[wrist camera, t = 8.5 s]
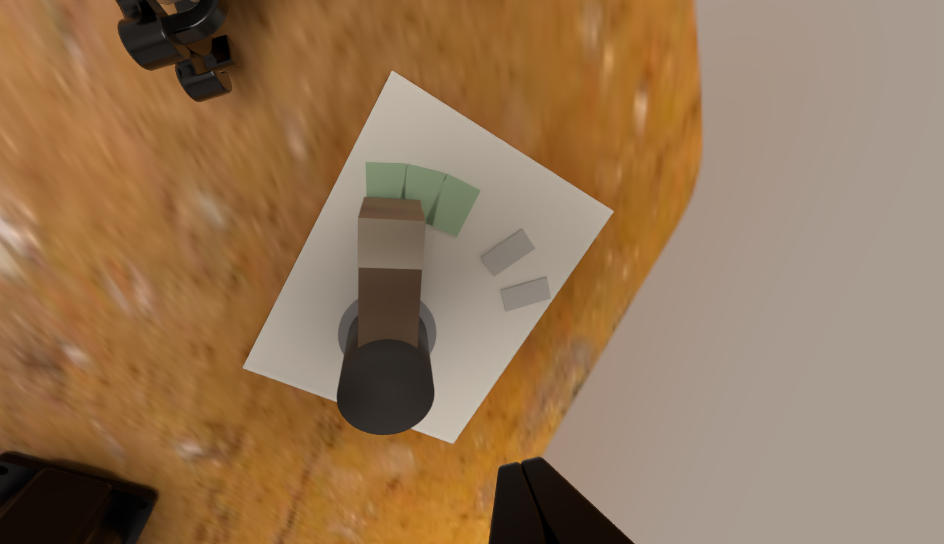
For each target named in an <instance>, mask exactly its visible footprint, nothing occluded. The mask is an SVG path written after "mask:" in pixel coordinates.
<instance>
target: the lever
mask: <svg viewBox="0 0 944 544" xmlns="http://www.w3.org/2000/svg"><path fill="white" fill-rule="evenodd" d="M425 225H426V220H425V216H424V212H423V207H422V203H421V200H409V199H392V198H375V197H364V198H363V201H362V205H361V208H360V212H359V216H358V315H357V316H356V318H355V319H354V320H353V322H352V323H351V325H350V328H349V331H348V336H347V341H346V346H345V352H344V357H343V362H342V368H341V373H340V378H339V384H338V389H337V404H338V408H339V410H340V412H341V414H342V416H343V417H344V418H345V419H346V421H347V422H349V423H350V424H351V425H352V426H354V427H355V428H357V429H359V430H361V431H364V432H367V433H371V434H377V435H390V434H396V433H400V432H403V431H406V430H408V429H410V428H412V427H414V426H415V425H417V424H418V423H419V422H421V421H422V420H423V419H424V418H425V416H426V415H427V414H428V412H429V411H430V409H431V407H432V405H433V401H434V396H435V390H434V383H433V375H432V367H431V360H430V352H429V344H428V337H427V330H426V327H425V324H424V322H423V320H422V319H421V318H420V316H419V312H420V296H421V279H422V269H423V258H424V242H425Z"/></svg>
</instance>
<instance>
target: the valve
mask: <svg viewBox="0 0 944 544" xmlns="http://www.w3.org/2000/svg"><path fill="white" fill-rule="evenodd" d="M116 2H117V4H118V5H119V7H120V9H121V11H122V13H123V16H124V19H122V20H120V21H119V22H118V33H119V36H120V39H121V41H122V43H123V45H124V47H125V49H126V50H127V52H128V53H129V54H130V56H131V57H132V58H133V59H134V60H135V61H136V63H138V64H139V65H140V66H141V67H143V68H144V69H146V70H150V71H153V70H156V69H159V68H163V67H166V66H169V65H173V64H175V71H176V75H177V78H178V80H179V82H180V84H181V86H182V87H183V89H184V90H185V92H186V93H187V94H188V95H189V96H190V97H191V98H192V99H193V100H194V101H196V102H202V101H206V100H209V99H212V98H215V97H218V96H222V95H225V94H228V93H230V92H231V91H232V85H231V81H230V78H229V76H228V73H227V72H225V71H224V70H227V69H230V68H233V67H237V66H238V65H239V57H238V54H237V51H236V49H235V47H234V45H233V43H232V41H231V39H230V38H229V36H228V35H223V36H220V37H216V38H213V37H212V36H211V35H212V34H214V33H215V32H216V31H217V30H218V29H219V28H220V27H221V26H222V24H223V23H224V22H225V19H226V17H227V15H228V12H229V8H230V0H116ZM159 3H160V4H165V5H169V4H172V3H174V4H175V7H176V10H177V13H175V14H172V15H168V14H167V13H166V12H165V10H164V9H163V8H162V7H161V6H160V4H159ZM221 71H224V72H221Z"/></svg>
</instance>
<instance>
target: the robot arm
mask: <svg viewBox="0 0 944 544" xmlns="http://www.w3.org/2000/svg"><path fill="white" fill-rule="evenodd" d="M157 499H158V497H157V494H155V493H154V492H153V491H150V490H147V489H143V488H139V487H135V486H131V485H127V484H123V483H119V482H116V481H112V480H108V479H104V478H100V477H96V476H92V475H88V474H85V473H81V472H77V471H73V470H69V469H65V468H61V467H57V466H53V465H50V464H46V463H42V462H38V461H34V460H30V459H26V458H22V457H19V456H15V455H10V454H3V455H0V544H136V543H137V541H138V539H139V537H140V535H141V533H142V531H143V529H144V527H145V525H146V523H147V521H148V519H149V517H150V514H151V512H152V510H153V508H154V506H155V504H156V502H157ZM144 501H145V502H144ZM489 544H634V543H633V542H632V541H631V540H630V539H629V538H628V537H627V536H626V535H625V534H624V533H623V532H622V531H621V530H619V529H618V528H617V527H616V526H615V525H614V524H613V523H612V522H611V521H610V520H609V519H608V518H607V517H605V516H604V515H603V514H602V513H601V512H600V511H599V510H598V509H597V508H596V507H595V506H594V505H593V504H592V503H590V502H589V501H588V500H587V499H586V498H585V497H584V496H583V495H582V494H581V493H580V492H579V491H578V490H577V489H575V488H574V487H573V486H572V485H571V484H570V483H569V482H568V481H567V480H566V479H565V478H564V477H563V476H562V475H560V474H559V473H558V472H557V471H556V470H555V469H554V468H553V467H552V466H551V465H550V464H549V463H547V462H546V461H545V460H544V459H543V458H542V457H535V458H531V459H526V460H523V461H522V462H521V464H520V463H518V462H514V463H510V464H506V465H502V466H500V467H499V469H498V476H497V483H496V491H495V498H494V506H493V514H492V521H491V529H490V536H489Z"/></svg>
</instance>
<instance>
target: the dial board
mask: <svg viewBox="0 0 944 544" xmlns="http://www.w3.org/2000/svg"><path fill="white" fill-rule="evenodd" d="M364 197H375V198H392V199H409V200H421V203H422V207H423V212H424V216H425V220H426V225H425V242H424V258H423V269H422V279H421V296H420V312H419V316H420V318H421V319H422V320H423V322H424V324H425V327H426V330H427V337H428V344H429V352H430V360H431V367H432V375H433V383H434V390H435V396H434V401H433V405H432V407H431V409H430V411H429V412H428V414H427V415H426V416H425V418H424V419H423V420H422V421H421V422H419V423H418V424H417V425H415V426H414V427H412V428H410V429H413V430H416V431H419V432H421V433H424V434H427V435H430V436H432V437H435V438H438V439H441V440H444V441H446V442H449V443H452V444H453V443H454V442H455V440H456V439H457V437H458V436H459V435H460V433H461V432H462V430H463V429H464V427H465V426H466V424H467V423H468V422H469V420H470V419H471V417H472V416H473V414H474V413H475V411H476V410H477V409H478V407H479V406H480V404H481V403H482V401H483V400H484V398H485V397H486V396H487V394H488V393H489V391H490V390H491V388H492V387H493V385H494V384H495V383H496V381H497V380H498V378H499V377H500V375H501V374H502V372H503V371H504V370H505V368H506V367H507V365H508V364H509V362H510V361H511V359H512V358H513V357H514V355H515V354H516V352H517V351H518V349H519V348H520V346H521V345H522V344H523V342H524V341H525V339H526V338H527V336H528V335H529V333H530V332H531V331H532V329H533V328H534V326H535V325H536V323H537V322H538V320H539V319H540V318H541V316H542V315H543V313H544V312H545V310H546V309H547V307H548V306H549V305H550V303H551V302H552V300H553V299H554V297H555V296H556V294H557V293H558V292H559V290H560V289H561V287H562V286H563V284H564V283H565V281H566V280H567V279H568V277H569V276H570V274H571V273H572V271H573V270H574V268H575V267H576V266H577V264H578V263H579V261H580V260H581V258H582V257H583V255H584V254H585V253H586V251H587V250H588V248H589V247H590V245H591V244H592V242H593V241H594V240H595V238H596V237H597V235H598V234H599V232H600V231H601V229H602V228H603V227H604V225H605V224H606V222H607V221H608V219H609V218H610V216H611V215H612V214H613V212H614V211H613V210H611V209H610V208H608V207H606V206H605V205H603V204H602V203H600V202H599V201H597V200H595V199H594V198H592V197H591V196H589V195H588V194H586V193H584V192H583V191H581V190H580V189H578V188H577V187H575V186H573V185H572V184H570V183H569V182H567V181H566V180H564V179H562V178H561V177H559V176H558V175H556V174H554V173H553V172H551V171H550V170H548V169H547V168H545V167H543V166H542V165H540V164H539V163H537V162H536V161H534V160H532V159H531V158H529V157H528V156H526V155H525V154H523V153H521V152H520V151H518V150H517V149H515V148H514V147H512V146H510V145H509V144H507V143H506V142H504V141H503V140H501V139H499V138H498V137H496V136H495V135H493V134H492V133H490V132H488V131H487V130H485V129H484V128H482V127H481V126H479V125H477V124H476V123H474V122H473V121H471V120H470V119H468V118H466V117H465V116H463V115H462V114H460V113H459V112H457V111H455V110H454V109H452V108H451V107H449V106H447V105H446V104H444V103H443V102H441V101H440V100H438V99H436V98H435V97H433V96H432V95H430V94H429V93H427V92H425V91H424V90H422V89H421V88H419V87H418V86H416V85H414V84H413V83H411V82H410V81H408V80H407V79H405V78H403V77H402V76H400V75H399V74H397V73H396V72H394V71H392V72H391V74H390V76H389V78H388V80H387V82H386V84H385V86H384V88H383V90H382V92H381V94H380V96H379V98H378V100H377V102H376V104H375V106H374V108H373V110H372V112H371V114H370V116H369V118H368V120H367V122H366V124H365V126H364V128H363V129H362V131H361V133H360V135H359V137H358V139H357V141H356V143H355V145H354V147H353V149H352V151H351V153H350V155H349V157H348V159H347V161H346V163H345V165H344V167H343V169H342V171H341V173H340V175H339V177H338V179H337V181H336V183H335V185H334V187H333V189H332V191H331V193H330V195H329V197H328V199H327V201H326V203H325V205H324V207H323V209H322V211H321V213H320V215H319V217H318V219H317V221H316V223H315V225H314V227H313V229H312V231H311V233H310V235H309V237H308V239H307V241H306V243H305V245H304V247H303V249H302V251H301V253H300V255H299V257H298V259H297V261H296V263H295V265H294V267H293V269H292V271H291V273H290V275H289V277H288V278H287V280H286V282H285V284H284V286H283V288H282V290H281V292H280V294H279V296H278V298H277V300H276V302H275V304H274V306H273V308H272V310H271V312H270V314H269V316H268V318H267V320H266V322H265V324H264V326H263V328H262V330H261V332H260V334H259V336H258V338H257V340H256V342H255V344H254V346H253V348H252V350H251V352H250V354H249V356H248V358H247V360H246V362H245V364H244V366H243V368H244V369H246V370H249V371H252V372H255V373H257V374H260V375H263V376H266V377H269V378H271V379H274V380H277V381H280V382H282V383H285V384H288V385H291V386H294V387H296V388H299V389H302V390H305V391H307V392H310V393H313V394H316V395H319V396H321V397H324V398H327V399H330V400H332V401H335V402H337V389H338V384H339V378H340V373H341V368H342V362H343V357H344V352H345V346H346V341H347V336H348V331H349V328H350V325H351V323H352V322H353V320H354V319H355V318H356V316H357V315H358V216H359V212H360V208H361V205H362V201H363V198H364Z"/></svg>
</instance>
